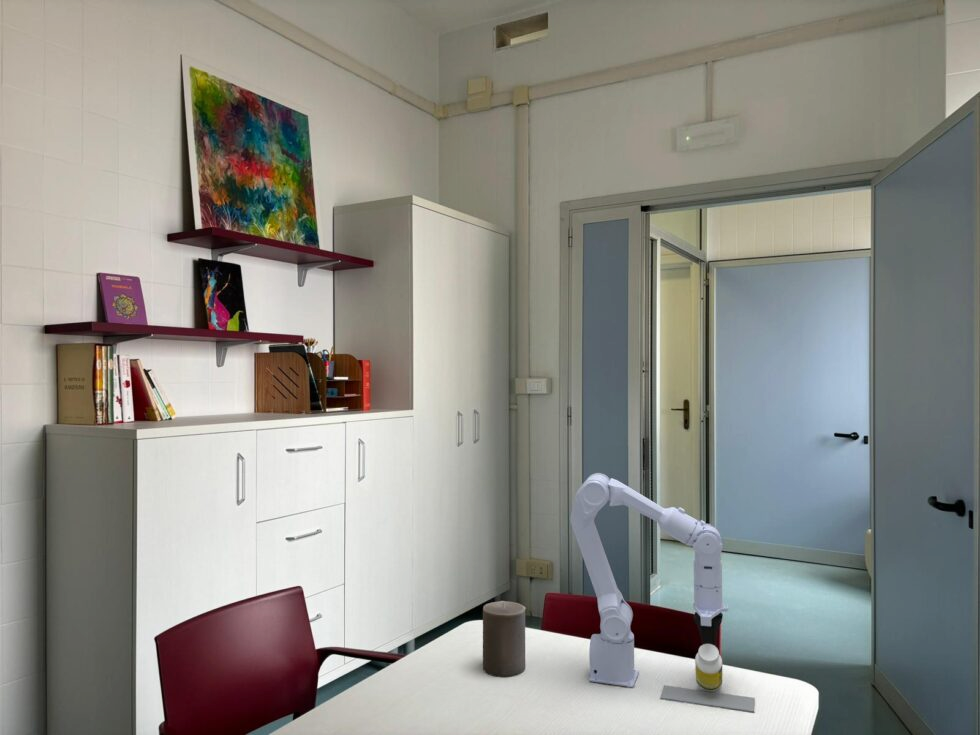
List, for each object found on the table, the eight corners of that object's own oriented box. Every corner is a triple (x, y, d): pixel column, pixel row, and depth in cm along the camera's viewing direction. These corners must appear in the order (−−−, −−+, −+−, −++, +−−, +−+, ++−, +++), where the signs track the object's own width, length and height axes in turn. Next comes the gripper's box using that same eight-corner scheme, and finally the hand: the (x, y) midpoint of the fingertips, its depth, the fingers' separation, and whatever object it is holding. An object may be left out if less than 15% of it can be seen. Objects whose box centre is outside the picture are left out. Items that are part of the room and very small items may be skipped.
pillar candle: (488, 679, 157) (487, 610, 157) (478, 661, 167) (478, 596, 167) (531, 675, 159) (530, 607, 159) (519, 657, 169) (519, 593, 169)
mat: (660, 698, 147) (660, 697, 147) (663, 686, 152) (663, 685, 152) (754, 712, 141) (754, 711, 141) (754, 699, 146) (754, 697, 146)
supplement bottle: (724, 692, 149) (724, 664, 144) (697, 692, 150) (695, 664, 145) (720, 668, 153) (720, 640, 148) (694, 668, 154) (693, 640, 149)
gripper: (726, 596, 144) (727, 664, 144) (729, 576, 157) (730, 638, 157) (689, 593, 146) (690, 660, 146) (695, 573, 160) (696, 634, 160)
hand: (708, 648), depth 152 cm, fingers closed
